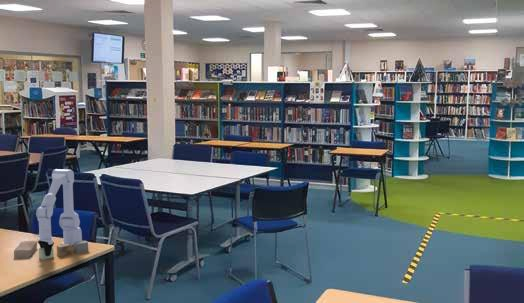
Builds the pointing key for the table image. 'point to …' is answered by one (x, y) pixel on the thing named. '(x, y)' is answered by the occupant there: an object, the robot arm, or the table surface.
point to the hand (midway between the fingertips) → (46, 254)
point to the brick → (25, 249)
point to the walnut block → (64, 249)
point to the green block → (42, 254)
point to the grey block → (81, 246)
